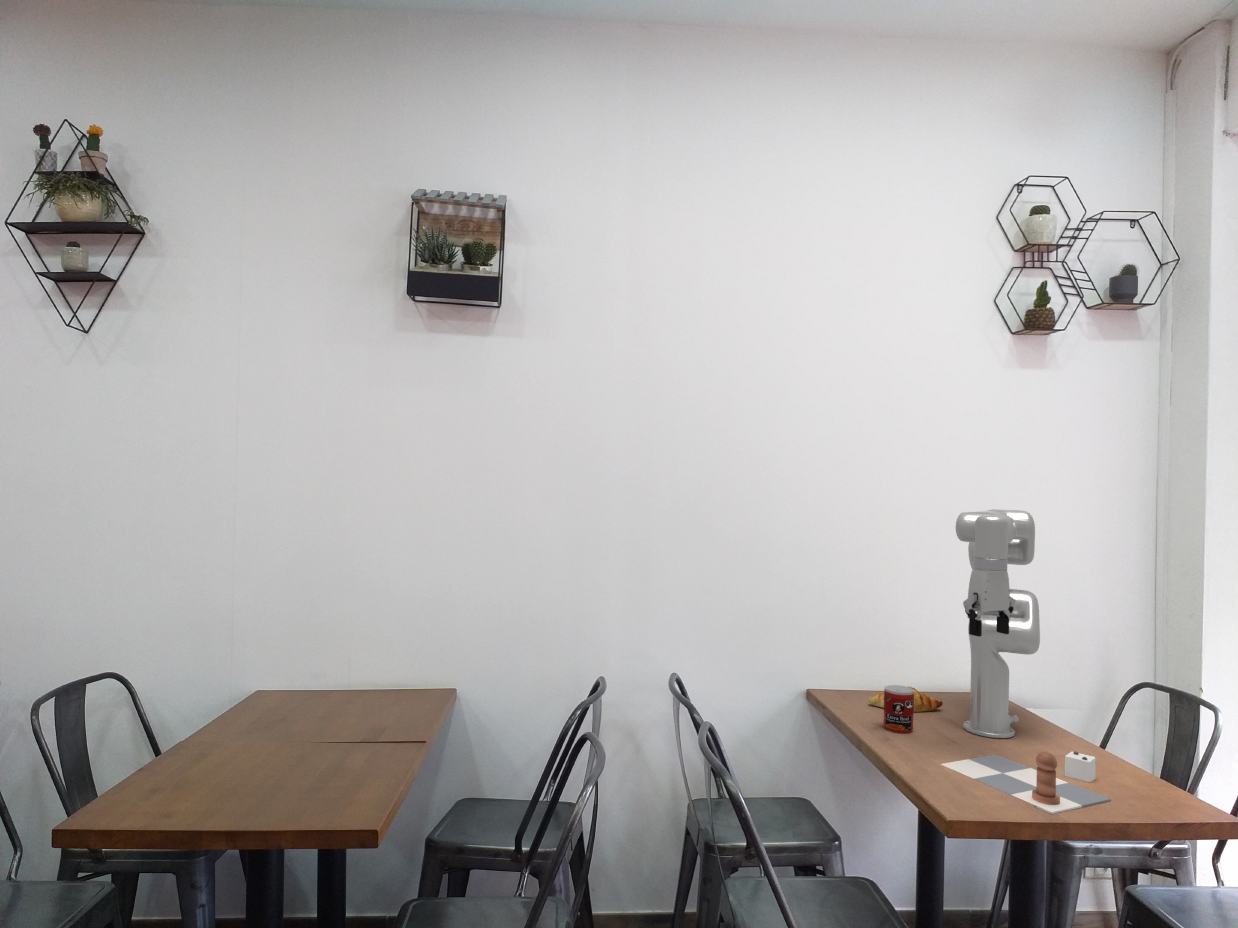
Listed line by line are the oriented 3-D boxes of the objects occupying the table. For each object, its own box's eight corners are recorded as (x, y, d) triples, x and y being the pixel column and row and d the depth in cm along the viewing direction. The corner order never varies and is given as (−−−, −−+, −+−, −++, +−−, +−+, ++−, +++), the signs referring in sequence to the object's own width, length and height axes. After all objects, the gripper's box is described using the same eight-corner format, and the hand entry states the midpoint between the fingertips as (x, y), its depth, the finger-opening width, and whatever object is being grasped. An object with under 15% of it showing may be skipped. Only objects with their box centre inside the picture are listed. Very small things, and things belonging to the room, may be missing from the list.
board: (995, 756, 191) (995, 754, 191) (1110, 800, 165) (1110, 798, 165) (940, 765, 183) (940, 763, 183) (1051, 814, 157) (1051, 812, 157)
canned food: (882, 731, 208) (883, 690, 208) (884, 722, 215) (885, 683, 216) (912, 735, 205) (913, 693, 205) (913, 727, 212) (914, 687, 213)
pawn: (1042, 793, 167) (1043, 746, 167) (1065, 802, 162) (1066, 754, 162) (1026, 796, 165) (1027, 749, 165) (1049, 806, 160) (1049, 757, 160)
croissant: (870, 720, 230) (873, 699, 226) (864, 696, 238) (867, 676, 235) (944, 723, 227) (948, 703, 223) (936, 699, 236) (939, 679, 232)
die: (1071, 772, 182) (1071, 748, 182) (1095, 778, 178) (1095, 754, 178) (1064, 777, 178) (1065, 753, 178) (1089, 784, 175) (1089, 759, 175)
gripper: (1001, 563, 199) (999, 629, 198) (953, 564, 191) (951, 633, 191) (1027, 566, 192) (1026, 635, 192) (978, 568, 184) (977, 639, 184)
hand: (989, 634), depth 191 cm, fingers open, 9 cm apart
